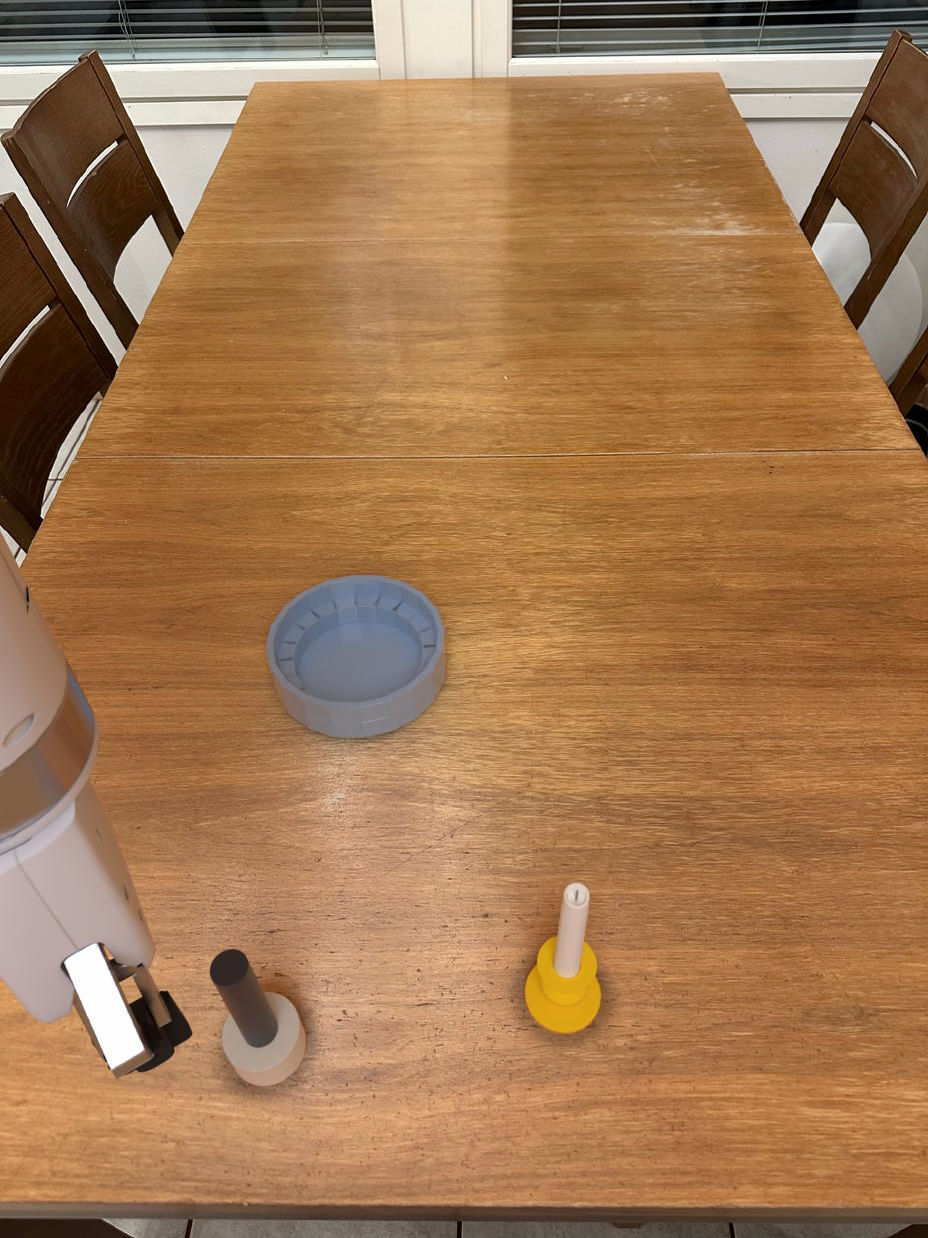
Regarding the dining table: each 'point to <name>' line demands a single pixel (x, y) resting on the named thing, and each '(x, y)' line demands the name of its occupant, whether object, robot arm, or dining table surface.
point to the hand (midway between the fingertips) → (120, 956)
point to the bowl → (357, 655)
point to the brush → (256, 1023)
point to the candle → (566, 971)
